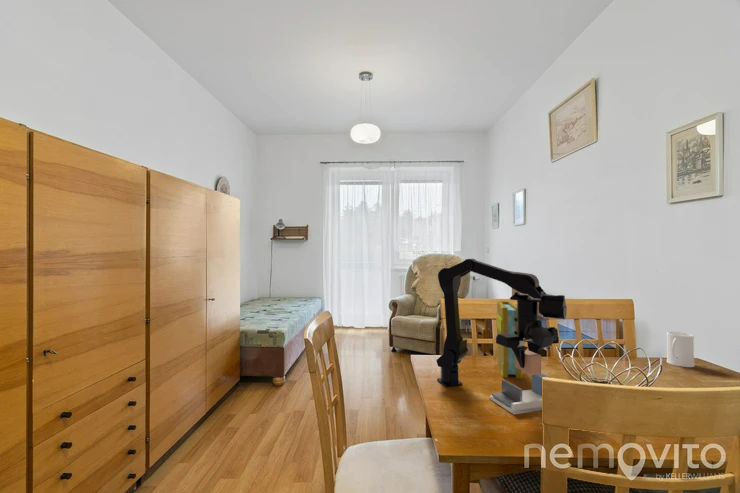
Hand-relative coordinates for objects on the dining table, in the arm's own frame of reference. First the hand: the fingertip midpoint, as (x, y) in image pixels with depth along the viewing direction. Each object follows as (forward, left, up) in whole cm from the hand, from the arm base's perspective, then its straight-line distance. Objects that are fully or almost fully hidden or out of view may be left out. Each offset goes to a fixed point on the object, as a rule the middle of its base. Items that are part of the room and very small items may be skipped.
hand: (527, 367), depth 107 cm
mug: (-10, +82, -10) cm, 83 cm away
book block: (0, 0, -1) cm, 1 cm away
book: (-25, +13, -10) cm, 30 cm away
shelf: (+1, 0, -10) cm, 10 cm away
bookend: (0, -8, -9) cm, 12 cm away
